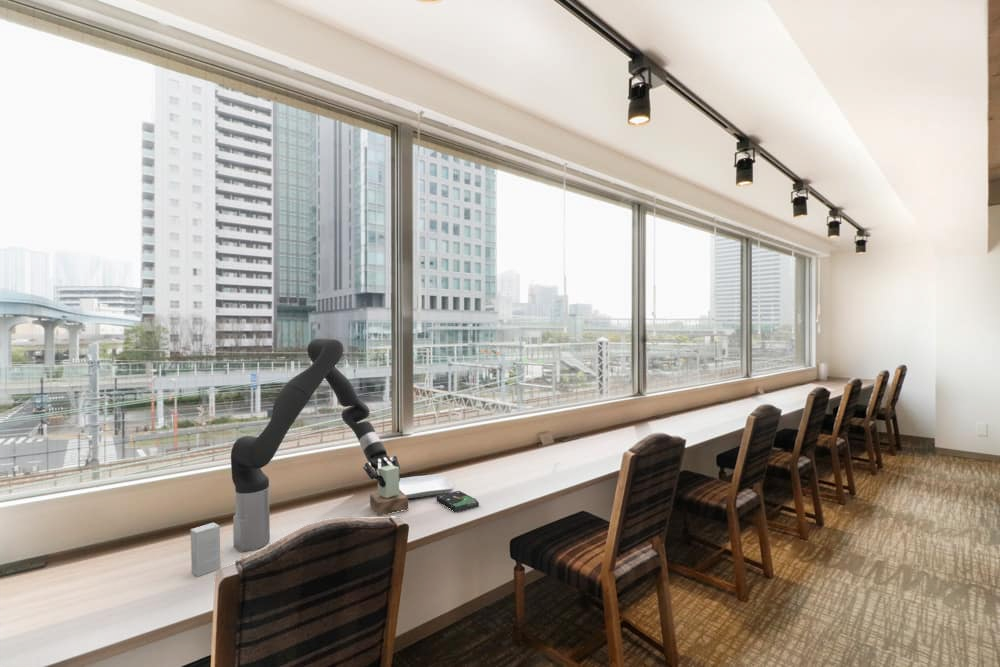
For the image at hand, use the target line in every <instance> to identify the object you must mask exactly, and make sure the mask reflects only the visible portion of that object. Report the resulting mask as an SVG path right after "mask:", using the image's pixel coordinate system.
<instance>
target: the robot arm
mask: <svg viewBox="0 0 1000 667" xmlns="http://www.w3.org/2000/svg"><path fill="white" fill-rule="evenodd" d="M343 352H344V345H343V343H342V342H341V341H340V340H339V339H334V338H324V337H323V338H321V337H320V338H314V339H312V340H310V342H309V343H308V346H307V354H308V357H309V359H310V361H311V362H312V364H311V365H310V366H309V367H308V368H307V369H305V370H303V371H301V372H300V373H299V374H297V375H295V376H294V377H292V378H291V379H290V380H288V382H287V383H286V384H285V385H284V386H283V388H281V390H280V391H279V393H278V394H277V396H276V397H275V399H274V401H273V402H274V403H273V406H272V412H271V417H270V420H269V422H268V423H267V425H266V427H265V428H264V430H263V431H262V432H260V434H259V435H258V436H255V435H254V436H253V435H244V436H241V437H239V438H238V439H236V441H235V442H234V443H233V445H232V447H231V452H230V467H231V479H232V483H233V484H234V487H235V488H234V490H235V491H234V492H235V496H234V497H235V514H234V515H233V516H232V517H233V518H232V520H233V521H232V523H233V526H232V527H233V529H232V530H233V536H232V537H233V547H234V548H235V549H236V550H238V551H239V552H240V553H242V552H246V551H247V552H248V551H254V550H258V549H262V548H264V547H265V546H267V545H269V543H270V542H269V541H270V540H271V533H270V531H271V530H270V527H271V526H270V479H269V477H268V476H267V475H266V474H265V473H264V472H263V470H262V468H265V466H268V464H269V463H270V462H271V461H272V459H273V458H274V456H275V455H276V453H277V451H278V449H279V448H280V445H281V443H282V442H283V440H284V438H285V437H286V435H287V433H288V431H289V430H290V428H291V427H292V426H293V424H294V422H295V421H296V419H297V417H298V416H299V415H300V414H301V412H302V411H303V410H304V408H305V407H306V406H307V403H308V402H309V401H310V399H311V397H312V396H313V394H314V393H315V392H316V391H317V389H318V388H319V386H320V385H321V383H322V382H323V381H324V379H325V381H326V382H327V383H328V385H329V386H330V388H331V389H332V391H333V393H334V394H335V396H336V399H337V400H338V402H339V404H340V405H341V406H342V407H346V408H345V409H343V410H342V411H341V419H342V421H343V422H344V423H345V424H346V425H347V426H348V427H349V428H350V429H351V430H352V432H354V435H355V436H356V438H357V440H358V442H359V445H360V448H361V450H362V452H363V454H364V456H365V459H367V461H368V462H365V464H364V465H363V467H362V468H363V470H364V472H366V474H367V476H368V477H369V478H370V479H371V480H374V479H375V480H377V484H378V483H379V485H380V486H381V487H382V488H383V487H385V485H386V483H385V481H384V479H383V477H382V476H381V473H380V469H379V468H381V467H384V466H388V465H389V466H391V465H393V466H396V467H399V470H401V466H400V463H399V460H398V457H397V456H396V455H393V457H392V456H391V457H390V456H389V455H388V454H387V450H386V448H385V445H383V443H382V440H381V438H380V436H379V435H378V434H377V431H376V430H375V428H374V426H373V425H372V423H371V422H370V421H363V420H365V419H367V418H368V417H369V416H370V409H369V407H368V404H366V403H365V402H364V401H363V400H362V399H361V398H360V397H359V396H358V393H357V392H356V390H355V388H354V386H353V384H352V383H351V381H350V380H349V378H347V376H345V374H344V373H342V372H341V371H340V370H339V369H338V367H337V366H336V365H337V364H338V363H339V362H340V360H341V359H342V357H343ZM361 421H362V422H361ZM400 478H401V477H400V476H399V481H400Z"/></svg>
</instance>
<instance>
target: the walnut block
mask: <svg viewBox="0 0 1000 667" xmlns="http://www.w3.org/2000/svg"><path fill="white" fill-rule="evenodd" d="M369 498H370V499H369V507H370V506H371V507H370V508H371V509H372V510H374V511H375V512H376V513H377V514H376V513H375V512H374V511H373V512H374V513H375V514H376V516H377V517H381V516H384V515H383V514H387V515H389V514H388V513H392V512H397V511H401V510H407V509H408V510H409V499H408V497H407V496H406V495H405V494H404V493H402V492H401V491H400V490H399V494H398V495H395V496H392V497H389V498H385V497H382V496H379V495H378V492H374V493H370V494H369ZM408 510H407V511H408ZM397 513H398V512H397ZM392 514H393V513H392Z"/></svg>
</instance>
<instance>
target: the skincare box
mask: <svg viewBox="0 0 1000 667" xmlns="http://www.w3.org/2000/svg"><path fill="white" fill-rule="evenodd" d="M220 527H221V526H220V525H219V524H217V523H215V522H210V523H206V524H204V525H201V526H197V527H194V528H190V555H191V556H190V558H191V559H190V560H191V561H190V562H191V573H192V574H193V575H194V576H196V577H200V576H203V575H207V574H209V573H211V572H214V571H217V570H219V568H220V569H221V568H222V567H221V562H222V560H221V528H220Z"/></svg>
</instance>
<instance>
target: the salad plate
mask: <svg viewBox="0 0 1000 667" xmlns="http://www.w3.org/2000/svg"><path fill="white" fill-rule="evenodd" d="M399 490H400V491H401V492H402V493H404V494H405V495H406V496H407V497H408V500H409V498H411V499H417V497H419V498H425V497H424V496H427V497H432V496H431V495H434V496H439V495H438V494H440V495H446V494H447V493H451V492H453V490H454V486H453V485H452V484H451V482H450V481H448V479H447V478H446V477H445V476H444V475H443V474H441V473H438V474H426V475H416V476H409V477H408V476H407V477H402V478H401V477H400V481H399Z"/></svg>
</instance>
